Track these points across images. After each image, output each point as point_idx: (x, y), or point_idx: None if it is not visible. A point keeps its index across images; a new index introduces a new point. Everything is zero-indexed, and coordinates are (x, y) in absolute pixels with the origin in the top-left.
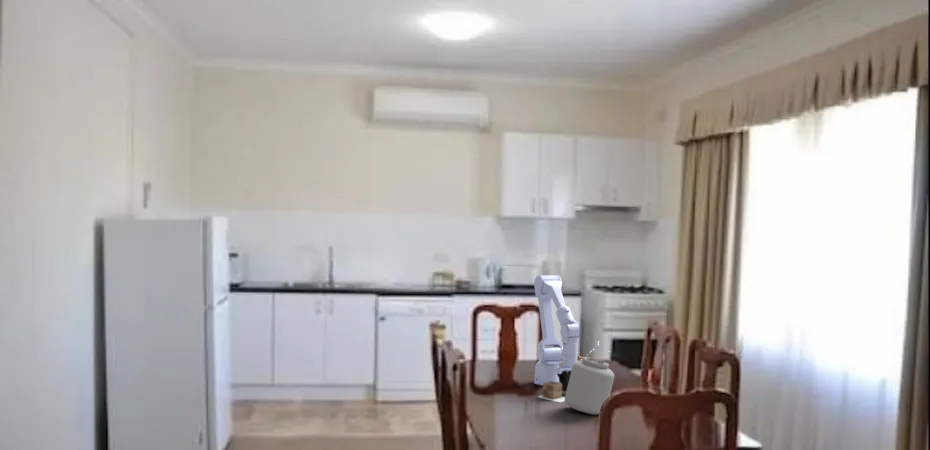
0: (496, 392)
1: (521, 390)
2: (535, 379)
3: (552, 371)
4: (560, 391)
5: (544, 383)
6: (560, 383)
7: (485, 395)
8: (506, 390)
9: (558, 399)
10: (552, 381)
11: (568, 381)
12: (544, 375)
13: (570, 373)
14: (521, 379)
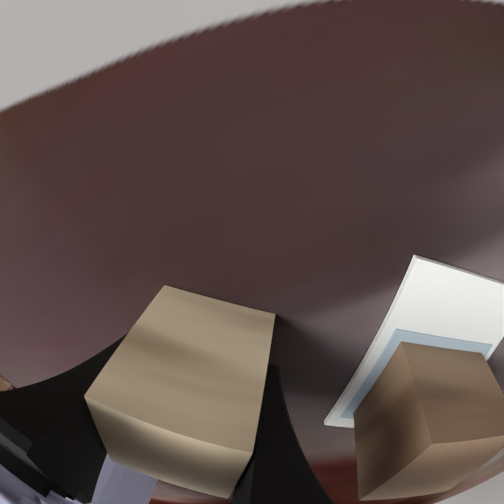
0: (398, 499)
1: (325, 487)
2: (156, 482)
3: (114, 497)
4: (434, 382)
5: (453, 486)
6: (425, 454)
7: (445, 491)
8: (355, 500)
9: (470, 329)
10: (365, 496)
11: (268, 445)
12: (148, 494)
13: (90, 472)
14: (166, 492)
